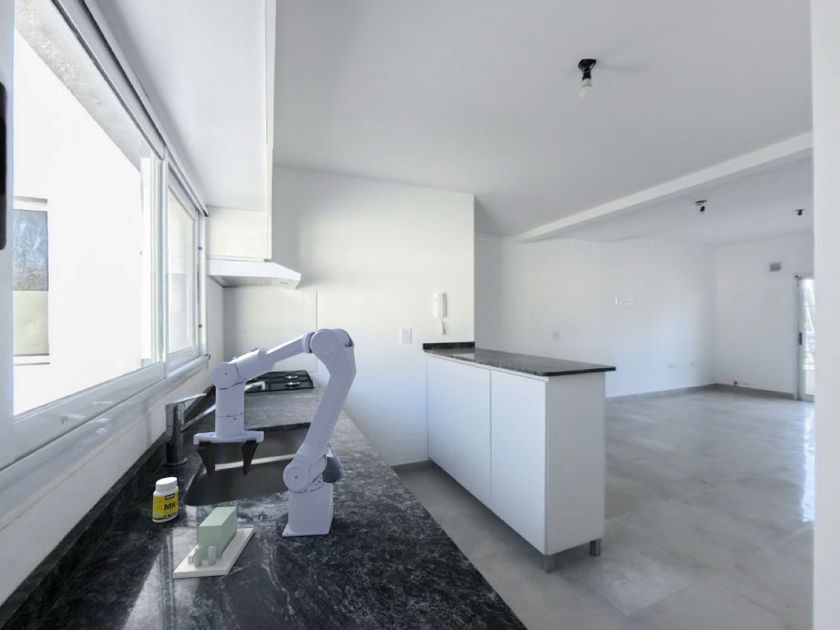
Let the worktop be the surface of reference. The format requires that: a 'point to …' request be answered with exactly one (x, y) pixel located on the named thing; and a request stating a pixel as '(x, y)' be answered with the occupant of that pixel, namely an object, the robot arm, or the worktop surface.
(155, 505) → the supplement bottle
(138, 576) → the worktop surface
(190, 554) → the tray
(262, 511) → the worktop surface
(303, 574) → the worktop surface
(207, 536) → the block
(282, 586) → the worktop surface
